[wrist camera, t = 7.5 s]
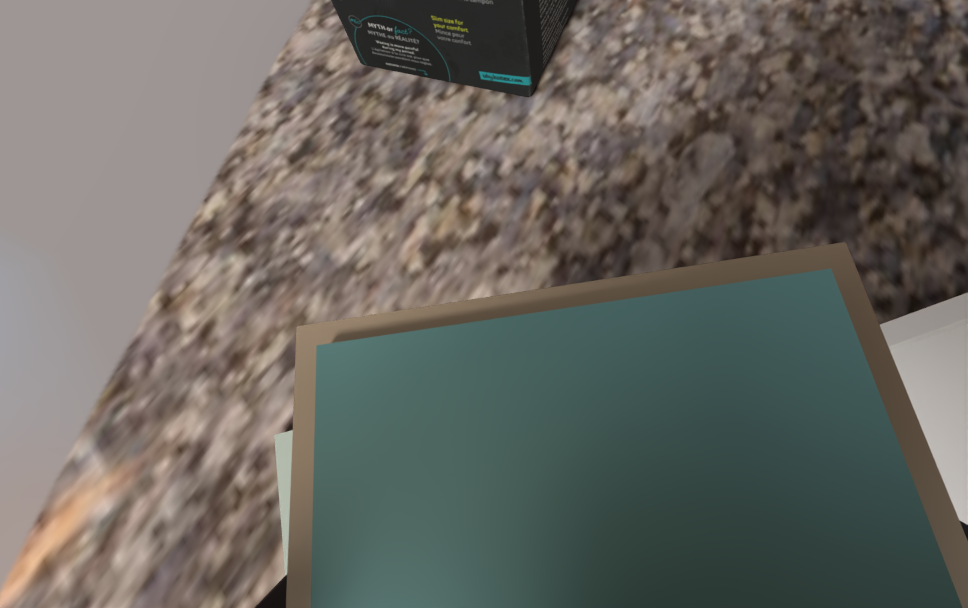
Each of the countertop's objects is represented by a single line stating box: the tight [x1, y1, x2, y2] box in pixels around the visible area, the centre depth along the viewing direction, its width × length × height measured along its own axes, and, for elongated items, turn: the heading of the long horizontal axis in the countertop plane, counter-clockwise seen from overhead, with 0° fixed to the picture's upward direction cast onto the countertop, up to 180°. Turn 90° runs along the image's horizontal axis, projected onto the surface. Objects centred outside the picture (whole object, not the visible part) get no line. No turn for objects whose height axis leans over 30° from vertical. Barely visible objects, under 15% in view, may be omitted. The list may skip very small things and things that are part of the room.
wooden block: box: [286, 242, 968, 608], centre depth 9 cm, size 5×5×11 cm
